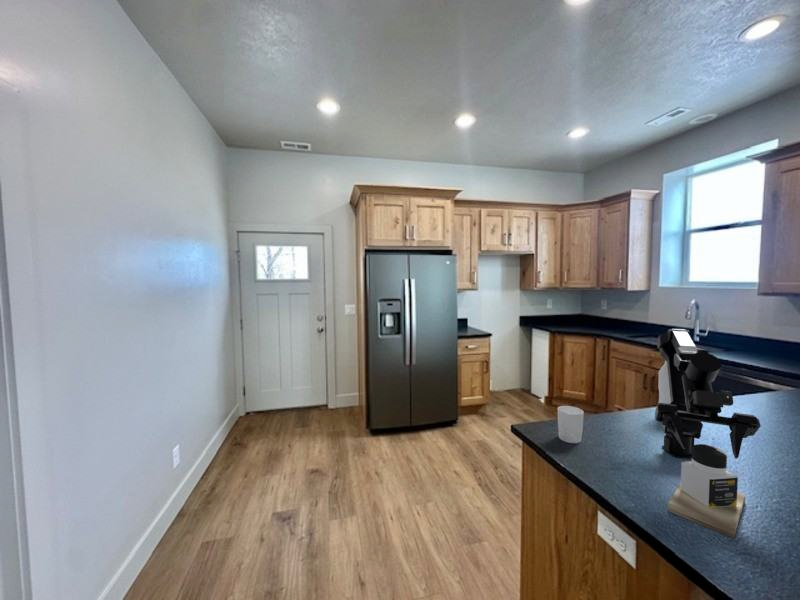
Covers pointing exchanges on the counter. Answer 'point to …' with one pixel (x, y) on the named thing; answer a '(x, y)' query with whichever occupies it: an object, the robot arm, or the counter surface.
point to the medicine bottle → (709, 477)
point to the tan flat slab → (707, 512)
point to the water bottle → (664, 385)
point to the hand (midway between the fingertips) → (709, 452)
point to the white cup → (570, 424)
